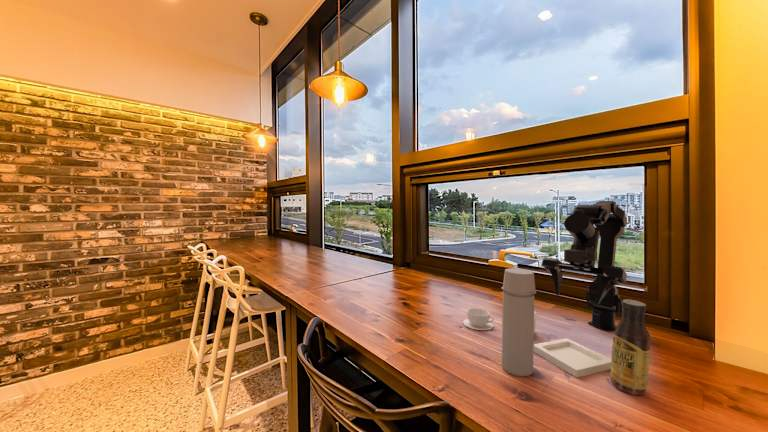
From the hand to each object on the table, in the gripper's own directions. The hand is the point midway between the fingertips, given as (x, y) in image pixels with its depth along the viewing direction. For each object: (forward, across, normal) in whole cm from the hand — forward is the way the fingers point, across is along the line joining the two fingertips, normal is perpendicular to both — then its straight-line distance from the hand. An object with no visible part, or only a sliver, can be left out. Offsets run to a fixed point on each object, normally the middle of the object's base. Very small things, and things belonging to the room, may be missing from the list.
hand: (576, 299), depth 76 cm
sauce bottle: (+17, +12, +1) cm, 21 cm away
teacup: (+16, -28, +5) cm, 33 cm away
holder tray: (+15, 0, +4) cm, 16 cm away
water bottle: (+22, -8, -10) cm, 25 cm away
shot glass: (+12, -16, +11) cm, 23 cm away
